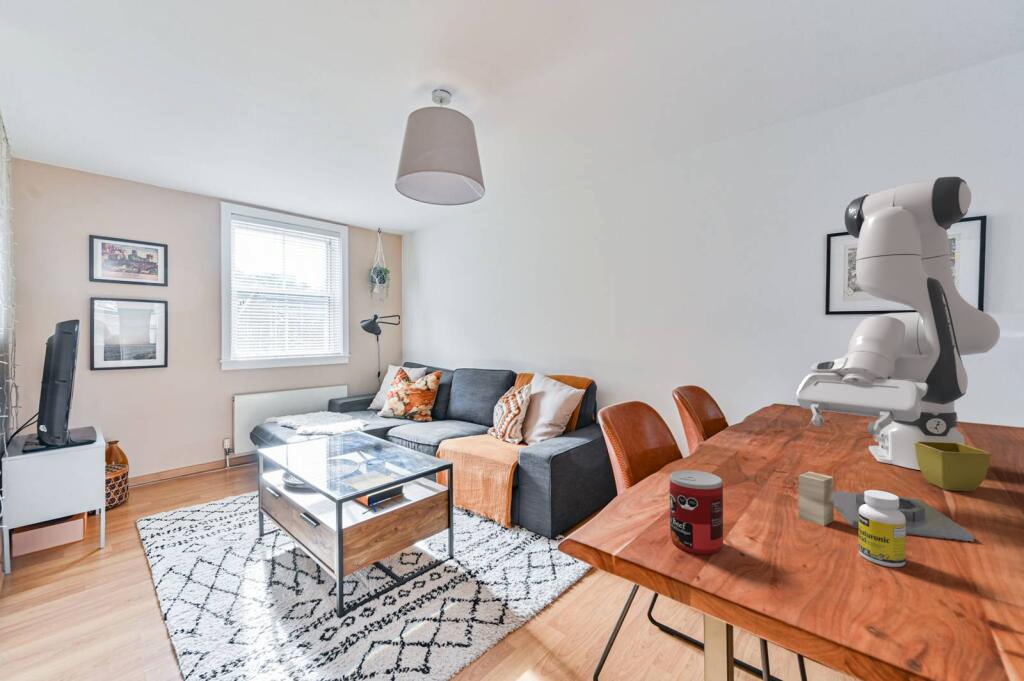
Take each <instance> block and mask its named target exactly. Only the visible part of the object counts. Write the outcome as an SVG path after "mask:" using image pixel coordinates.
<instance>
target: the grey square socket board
mask: <svg viewBox="0 0 1024 681" xmlns="http://www.w3.org/2000/svg"><path fill="white" fill-rule="evenodd" d="M897 496H898V495H897ZM898 497H899V508H897V510H899V511H901V512H902V513H903V514H904V516H905V520H906V535H911V536H919V537H927V538H928V537H929V538H936V539H943V540H944V538H945V539H946V540H951V539H955V540H954V541H959V540H961V541H960V542H968V541H971V542H970V543H974V541H975V538H974V534H973V533H972V532H970V531H969V530H967V529H966V528H964V527H963V526H961V525H960V524H958V523H957V522H955V521H954V520H953V519H951V518H950V517H948V516H947V515H945V514H943V513H942V512H941V511H939V510H937V509H936V508H935V507H933V506H932V505H930V504H928V502H926V501H925V500H923V499H921V498H913V497H902V496H898ZM863 504H866V502H865V499H864V492H862V493H860V492H850V491H839V490H834V509H835V510H837V511H838V513H839V514H840V515H841V516H842V517H843V518H844V519H845V520H846V521H847V523H849V525H850V526H851V527H852V528H853V529H859V508H860V506H861V505H863Z"/></svg>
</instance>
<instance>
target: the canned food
mask: <svg viewBox="0 0 1024 681" xmlns="http://www.w3.org/2000/svg"><path fill="white" fill-rule="evenodd" d="M723 488H724V485H723V479H722V478H721V477H720V476H718V475H716V474H713V473H710V472H707V471H702V470H693V469H691V470H689V469H687V470H686V469H684V470H683V469H681V470H675V471H673V472H670V474H669V528H670V529H669V530H670V531H669V532H670V533H669V535H670V538H671V542H672V544H673V545H674V546H676V547H677V548H679V549H680V550H683V551H685V552H688V553H691V554H697V555H713V554H717V553H719V552H720V551H722V550H721V549H722V548H723V545H724V489H723Z"/></svg>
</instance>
